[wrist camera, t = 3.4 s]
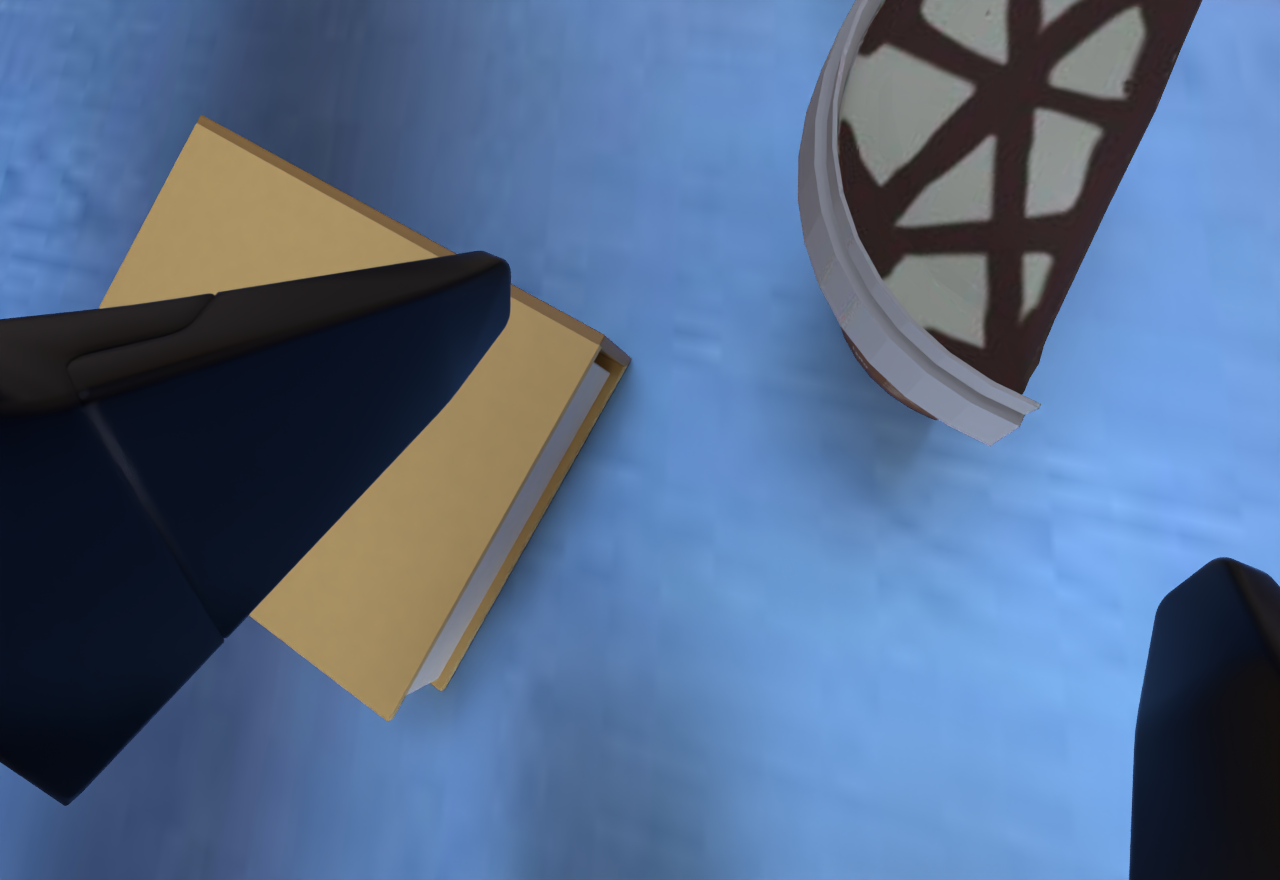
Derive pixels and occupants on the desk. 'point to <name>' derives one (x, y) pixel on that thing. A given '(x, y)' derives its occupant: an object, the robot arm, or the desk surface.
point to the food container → (972, 182)
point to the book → (436, 459)
